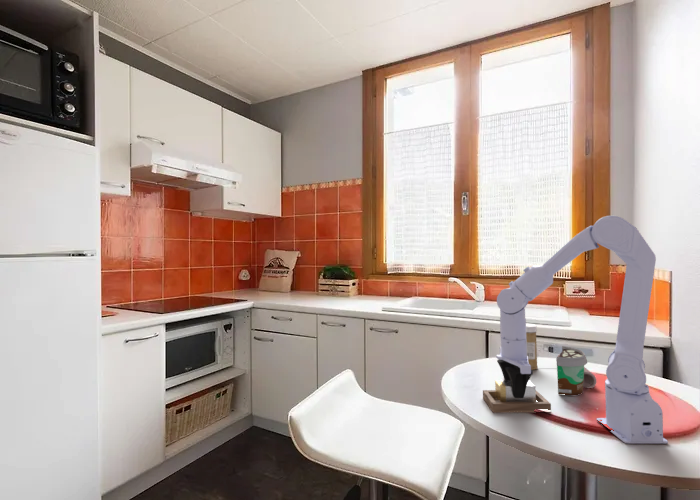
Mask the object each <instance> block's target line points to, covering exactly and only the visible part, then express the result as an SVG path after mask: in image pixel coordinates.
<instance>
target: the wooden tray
mask: <svg viewBox="0 0 700 500" xmlns="http://www.w3.org/2000/svg"><path fill="white" fill-rule="evenodd" d="M482 399H483V401H484V402H485V403H486V405H487V407H489V409H490V411H492V413H497V414H498V413H506V414H507V413H510V414H511V413H514V414H515V413H517V414H518V413H535V412H534V410H535V409H548V410H551V411H552V403H551V402H550V401H548V400H547V398H545V397H544V396H543V395H542V394H540V392H539V391H537V390H536V400H537V401H538V402H500V401H499V399H498V398H497V397H496V390H495V389H489V390H487V389H483V390H482Z"/></svg>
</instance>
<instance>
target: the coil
mask: <svg viewBox="0 0 700 500" xmlns="http://www.w3.org/2000/svg"><path fill="white" fill-rule="evenodd" d="M559 356H560V353H559V354H558V355H557V356H556V359H555V360H556V362H557V357H559ZM596 385H597V378H596V376H595V374H594V373H592V372H591V371H590V370H589V369H587V367H585V366H584V379H583V388H585V389H586V388H592V389H593V388H595V386H596Z"/></svg>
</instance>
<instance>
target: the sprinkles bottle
mask: <svg viewBox="0 0 700 500" xmlns="http://www.w3.org/2000/svg"><path fill="white" fill-rule="evenodd" d="M537 331H538V329H537V325H536V324H534V323H526V339H527V356H528V361H529V364H530V365H531V370H533V371H535V370H538V348H537V346H538V344H537Z"/></svg>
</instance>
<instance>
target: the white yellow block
mask: <svg viewBox="0 0 700 500" xmlns="http://www.w3.org/2000/svg"><path fill="white" fill-rule="evenodd" d="M494 381H495V382H494V383H495V384H494V385H495V386H494V387H495V389H494V390H496V397H497V398H498V399H499V401H500V402H536V391H537V389H536V385H535V384H533V382H532V381H531V380H529V381H528V383H527V386H526V390H525V395H524V398H515V397H514V396H513V392H512V386H511V381H510V380H504V379H500V380H494Z"/></svg>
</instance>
